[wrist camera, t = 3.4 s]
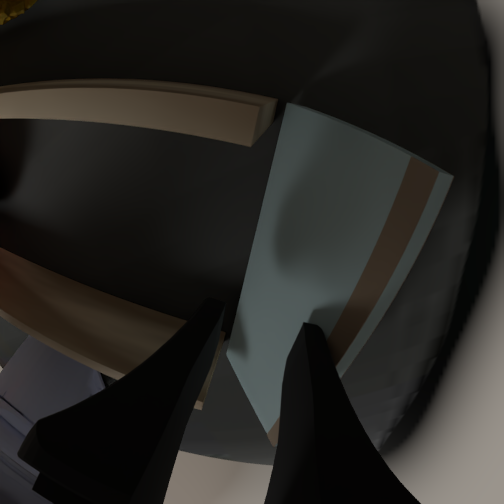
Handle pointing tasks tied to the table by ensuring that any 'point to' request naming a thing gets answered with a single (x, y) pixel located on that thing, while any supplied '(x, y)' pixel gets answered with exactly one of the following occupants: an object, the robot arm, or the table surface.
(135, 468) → the robot arm
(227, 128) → the crate
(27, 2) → the food
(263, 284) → the panel
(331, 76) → the table surface
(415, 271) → the table surface
